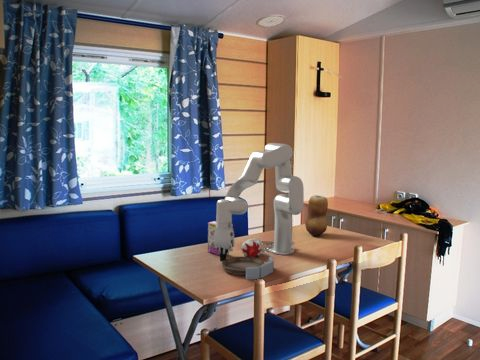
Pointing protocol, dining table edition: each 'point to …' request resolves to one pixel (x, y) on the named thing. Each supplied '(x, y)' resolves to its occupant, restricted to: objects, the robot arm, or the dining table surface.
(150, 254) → the dining table surface
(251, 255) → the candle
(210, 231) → the candy bar box
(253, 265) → the plant saucer
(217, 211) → the robot arm
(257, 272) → the grey curved bar
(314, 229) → the butternut squash
